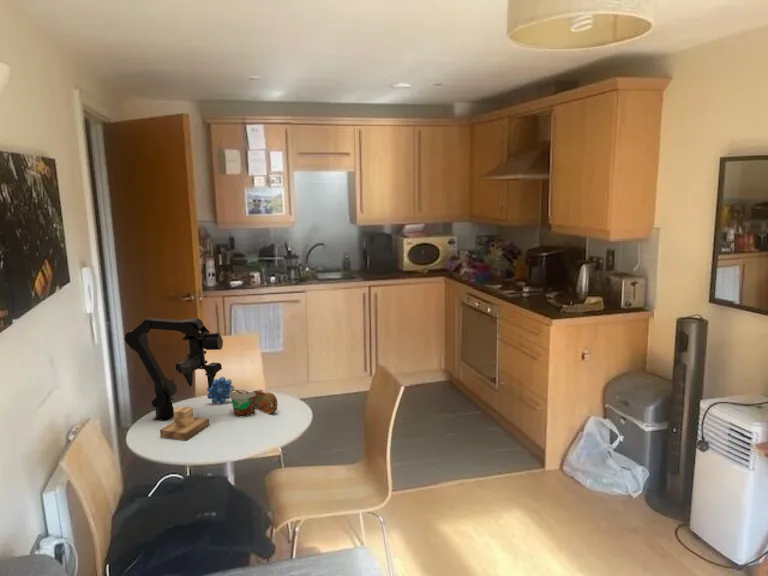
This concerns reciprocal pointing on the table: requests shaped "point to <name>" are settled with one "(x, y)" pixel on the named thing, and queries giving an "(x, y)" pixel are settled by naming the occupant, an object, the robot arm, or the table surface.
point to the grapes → (220, 390)
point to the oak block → (184, 416)
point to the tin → (265, 401)
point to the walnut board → (185, 429)
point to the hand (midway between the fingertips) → (200, 387)
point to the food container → (242, 402)
